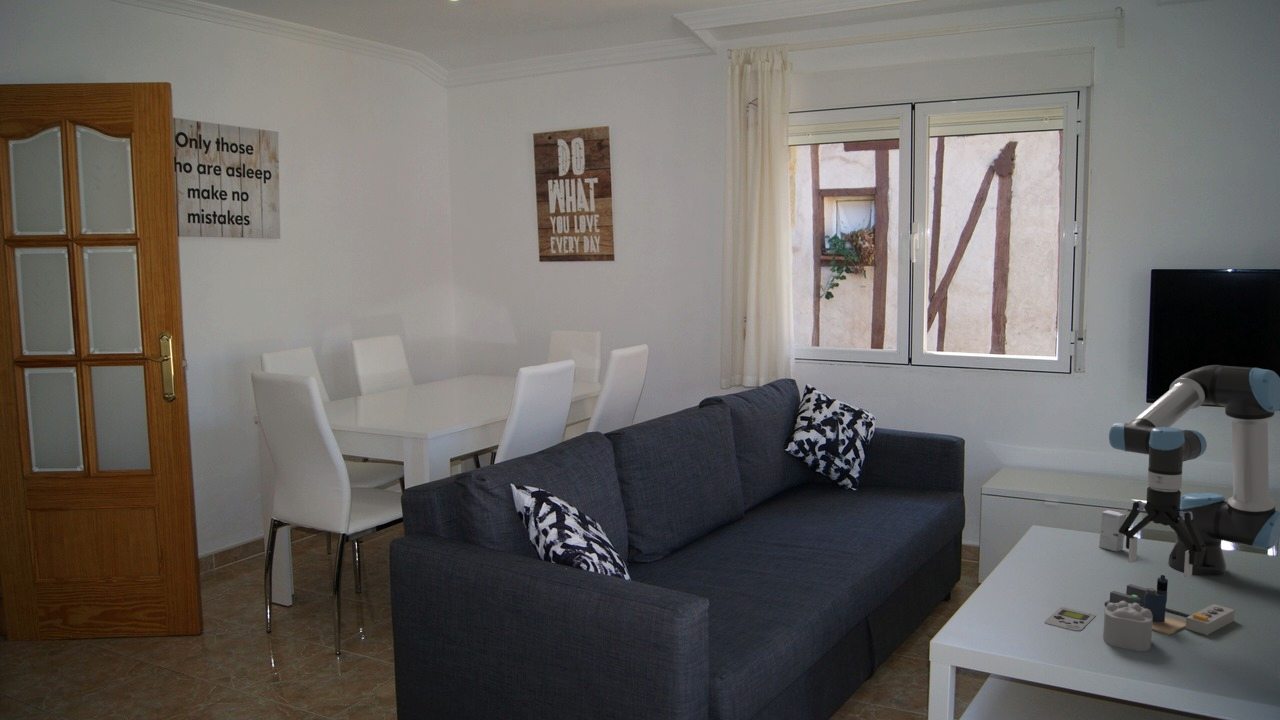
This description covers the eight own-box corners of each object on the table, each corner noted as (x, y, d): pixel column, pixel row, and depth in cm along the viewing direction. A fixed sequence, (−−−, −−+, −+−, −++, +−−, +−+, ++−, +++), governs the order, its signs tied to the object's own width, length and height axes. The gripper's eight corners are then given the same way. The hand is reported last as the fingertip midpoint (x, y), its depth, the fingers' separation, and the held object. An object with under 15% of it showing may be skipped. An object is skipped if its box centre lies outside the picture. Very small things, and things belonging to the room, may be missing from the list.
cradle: (1124, 596, 252) (1125, 580, 252) (1205, 619, 235) (1206, 602, 235) (1104, 605, 246) (1105, 588, 245) (1186, 629, 229) (1187, 612, 228)
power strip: (1212, 614, 239) (1213, 601, 239) (1233, 620, 235) (1234, 606, 235) (1185, 628, 230) (1186, 614, 229) (1207, 635, 226) (1208, 620, 225)
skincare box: (1098, 547, 297) (1100, 511, 296) (1105, 545, 300) (1107, 509, 298) (1117, 552, 292) (1119, 515, 291) (1124, 549, 295) (1126, 513, 293)
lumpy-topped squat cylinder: (1101, 644, 220) (1103, 609, 219) (1104, 626, 231) (1106, 593, 230) (1150, 653, 215) (1153, 618, 214) (1151, 634, 226) (1153, 601, 225)
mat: (1142, 610, 242) (1142, 608, 242) (1190, 624, 232) (1190, 622, 232) (1120, 620, 235) (1120, 618, 235) (1168, 635, 225) (1169, 633, 225)
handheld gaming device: (1043, 621, 233) (1061, 605, 244) (1043, 624, 233) (1061, 608, 244) (1079, 630, 227) (1096, 613, 238) (1079, 633, 227) (1096, 616, 238)
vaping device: (1167, 622, 232) (1170, 577, 231) (1145, 621, 233) (1148, 576, 232) (1162, 618, 235) (1166, 574, 233) (1141, 617, 235) (1144, 573, 234)
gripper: (1107, 481, 238) (1103, 558, 240) (1211, 500, 218) (1205, 585, 220) (1121, 476, 242) (1117, 553, 245) (1224, 495, 222) (1219, 578, 225)
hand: (1159, 568), depth 232 cm, fingers open, 13 cm apart
